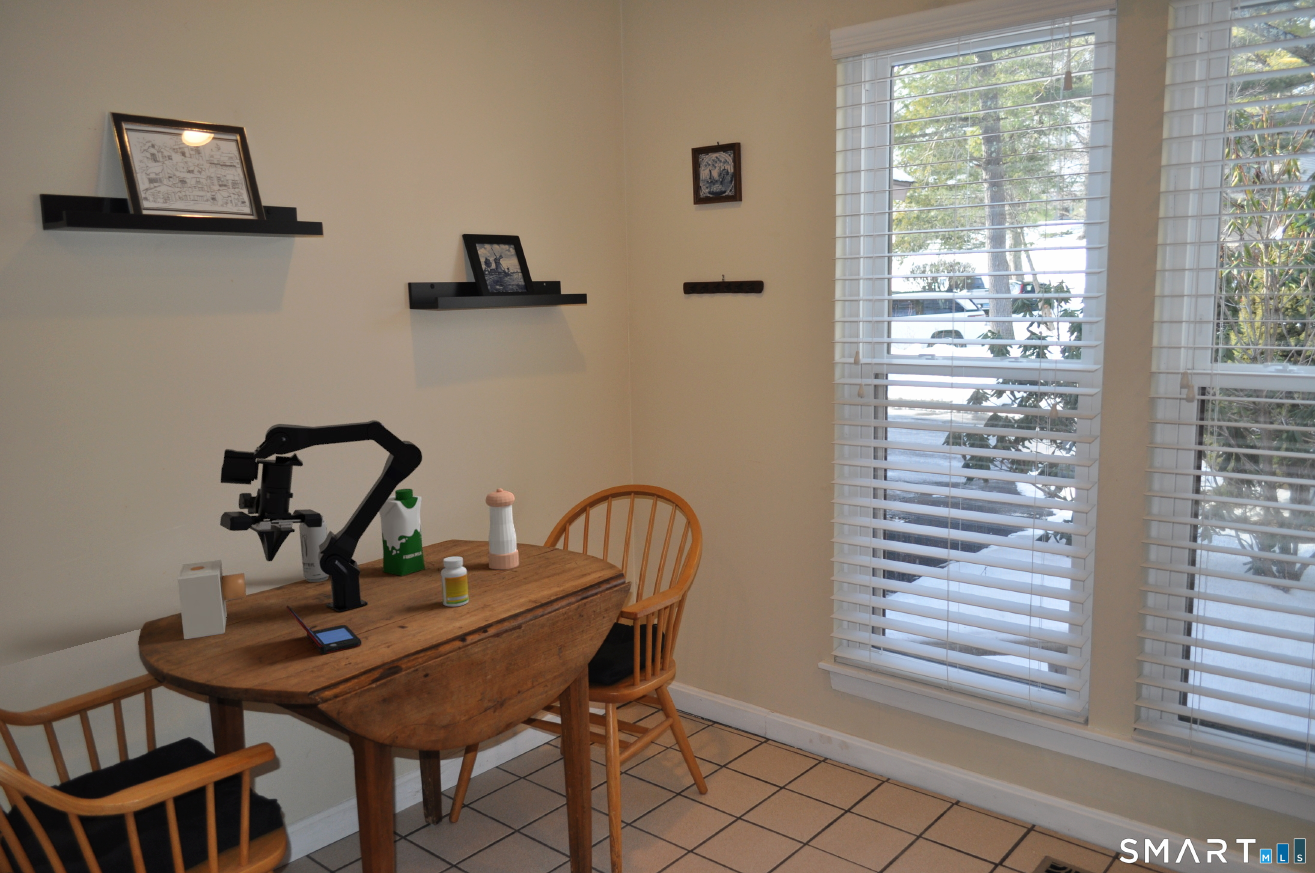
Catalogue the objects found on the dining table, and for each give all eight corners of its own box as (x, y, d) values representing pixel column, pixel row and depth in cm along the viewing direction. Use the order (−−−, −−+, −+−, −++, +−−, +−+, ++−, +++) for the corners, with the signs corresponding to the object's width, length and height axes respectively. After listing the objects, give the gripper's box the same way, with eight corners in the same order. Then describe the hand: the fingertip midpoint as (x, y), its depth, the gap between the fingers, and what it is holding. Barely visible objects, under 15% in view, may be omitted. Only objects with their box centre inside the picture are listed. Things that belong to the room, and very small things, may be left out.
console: (226, 615, 185) (221, 558, 184) (224, 633, 174) (218, 572, 173) (189, 621, 183) (183, 562, 181) (184, 639, 172) (177, 577, 170)
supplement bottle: (473, 602, 189) (471, 557, 187) (452, 608, 185) (449, 563, 184) (459, 597, 192) (456, 553, 191) (437, 603, 188) (434, 559, 187)
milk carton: (401, 577, 209) (395, 494, 206) (377, 572, 214) (370, 491, 212) (430, 568, 216) (425, 487, 213) (406, 563, 221) (400, 484, 219)
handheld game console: (363, 647, 165) (360, 608, 164) (302, 661, 159) (298, 621, 158) (346, 628, 175) (343, 592, 174) (288, 641, 170) (285, 603, 169)
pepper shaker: (516, 569, 213) (511, 490, 210) (486, 570, 213) (481, 491, 211) (521, 560, 220) (517, 485, 218) (492, 561, 220) (487, 485, 218)
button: (246, 593, 183) (243, 570, 182) (245, 600, 179) (243, 576, 178) (224, 596, 182) (222, 573, 181) (223, 603, 177) (221, 579, 176)
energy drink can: (299, 580, 210) (293, 518, 208) (323, 574, 214) (318, 513, 212) (311, 584, 206) (306, 521, 204) (335, 578, 210) (330, 516, 208)
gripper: (303, 479, 193) (296, 549, 194) (213, 479, 180) (206, 554, 181) (326, 488, 186) (319, 561, 187) (234, 489, 172) (227, 568, 173)
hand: (269, 560), depth 182 cm, fingers closed
